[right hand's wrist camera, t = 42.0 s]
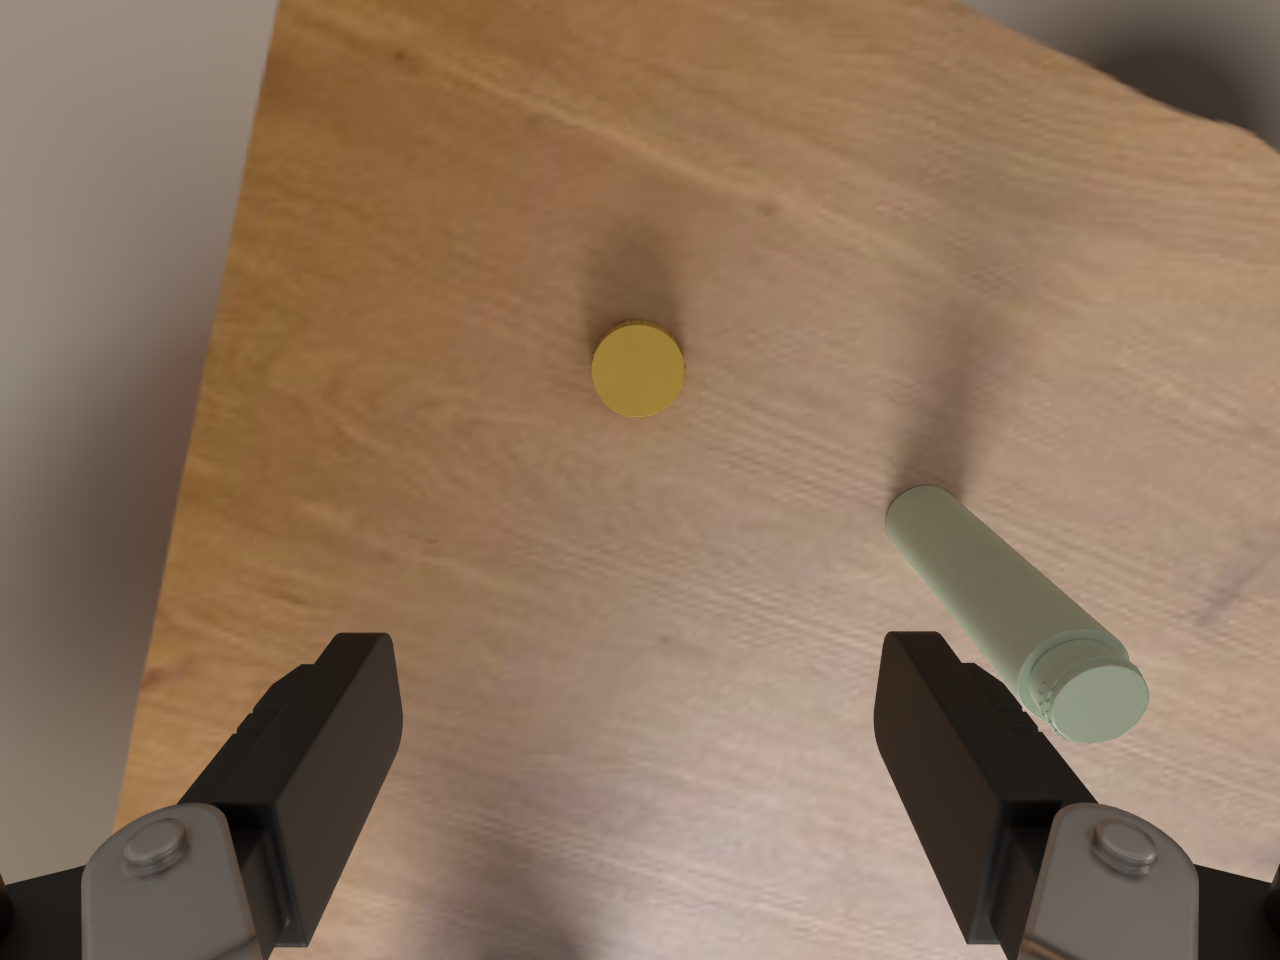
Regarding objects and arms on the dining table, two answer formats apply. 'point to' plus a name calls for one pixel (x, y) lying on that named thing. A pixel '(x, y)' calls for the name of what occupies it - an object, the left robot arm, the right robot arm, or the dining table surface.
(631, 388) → the lid
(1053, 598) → the jar
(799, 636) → the dining table surface
